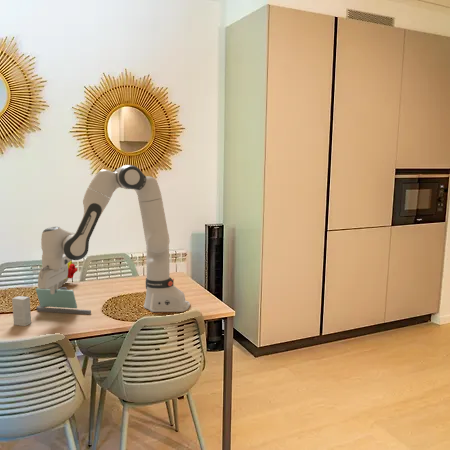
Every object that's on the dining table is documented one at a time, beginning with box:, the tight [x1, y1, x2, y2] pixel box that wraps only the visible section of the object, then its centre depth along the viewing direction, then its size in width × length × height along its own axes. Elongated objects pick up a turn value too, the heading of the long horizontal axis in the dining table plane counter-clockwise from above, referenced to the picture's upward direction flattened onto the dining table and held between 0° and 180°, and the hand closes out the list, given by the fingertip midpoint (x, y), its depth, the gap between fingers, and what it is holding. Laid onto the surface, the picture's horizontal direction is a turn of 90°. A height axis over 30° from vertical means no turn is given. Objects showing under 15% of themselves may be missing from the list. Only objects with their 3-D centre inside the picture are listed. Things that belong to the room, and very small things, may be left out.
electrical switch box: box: [57, 254, 78, 289], centre depth 262 cm, size 15×15×20 cm
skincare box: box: [11, 295, 32, 327], centre depth 203 cm, size 6×4×12 cm
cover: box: [35, 287, 78, 309], centre depth 217 cm, size 18×10×1 cm
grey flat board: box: [36, 304, 92, 315], centre depth 224 cm, size 27×12×2 cm, turn 82°
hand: (53, 293), depth 209 cm, fingers closed
